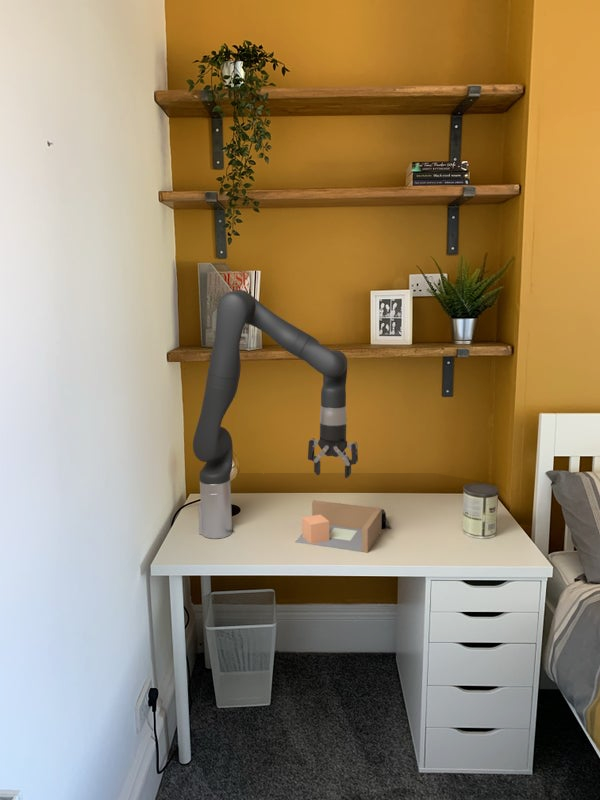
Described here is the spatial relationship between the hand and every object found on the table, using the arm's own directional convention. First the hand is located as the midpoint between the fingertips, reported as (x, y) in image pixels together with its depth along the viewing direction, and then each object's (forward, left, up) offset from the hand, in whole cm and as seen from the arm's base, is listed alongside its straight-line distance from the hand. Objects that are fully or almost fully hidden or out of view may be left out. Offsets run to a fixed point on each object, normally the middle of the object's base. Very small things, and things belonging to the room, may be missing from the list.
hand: (332, 475), depth 179 cm
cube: (-5, 0, -20) cm, 21 cm away
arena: (+1, +4, -21) cm, 21 cm away
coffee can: (+40, +23, -21) cm, 51 cm away
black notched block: (+10, +20, -22) cm, 31 cm away
